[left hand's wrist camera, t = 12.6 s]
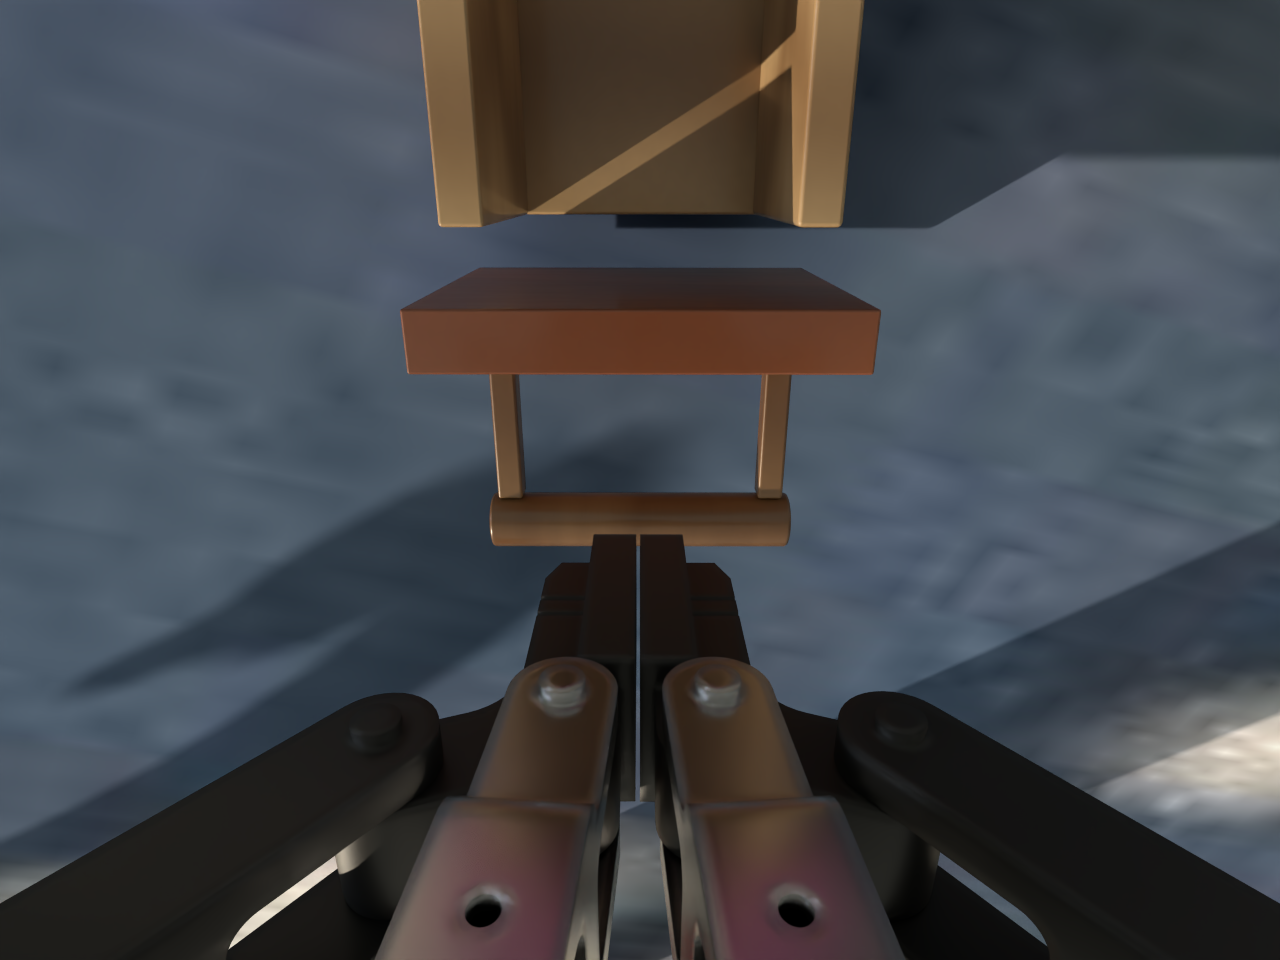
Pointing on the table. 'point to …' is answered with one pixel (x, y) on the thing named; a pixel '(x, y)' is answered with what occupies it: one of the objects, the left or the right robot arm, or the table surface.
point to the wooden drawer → (640, 184)
